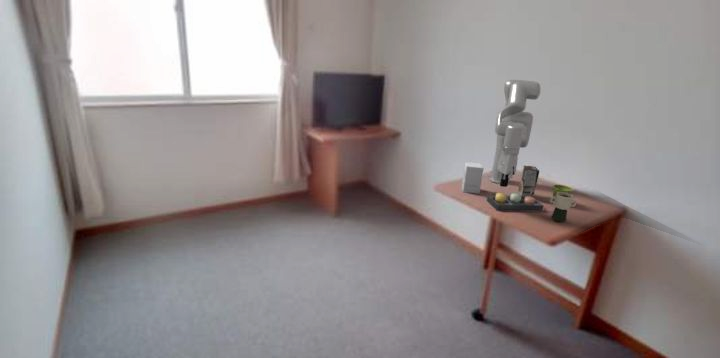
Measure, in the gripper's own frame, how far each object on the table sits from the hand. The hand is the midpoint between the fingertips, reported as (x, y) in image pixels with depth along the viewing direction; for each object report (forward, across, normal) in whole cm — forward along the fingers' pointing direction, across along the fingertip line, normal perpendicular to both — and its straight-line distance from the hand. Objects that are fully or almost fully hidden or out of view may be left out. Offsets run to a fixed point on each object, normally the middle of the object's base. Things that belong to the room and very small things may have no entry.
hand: (503, 186), depth 186 cm
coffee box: (+11, -14, +22) cm, 28 cm away
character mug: (+11, +16, +22) cm, 29 cm away
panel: (+11, 0, +8) cm, 14 cm away
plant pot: (+11, -5, +36) cm, 38 cm away
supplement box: (+11, -21, -7) cm, 25 cm away
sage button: (+9, 0, +8) cm, 12 cm away
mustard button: (+9, 0, 0) cm, 9 cm away
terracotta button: (+10, 0, +16) cm, 19 cm away
